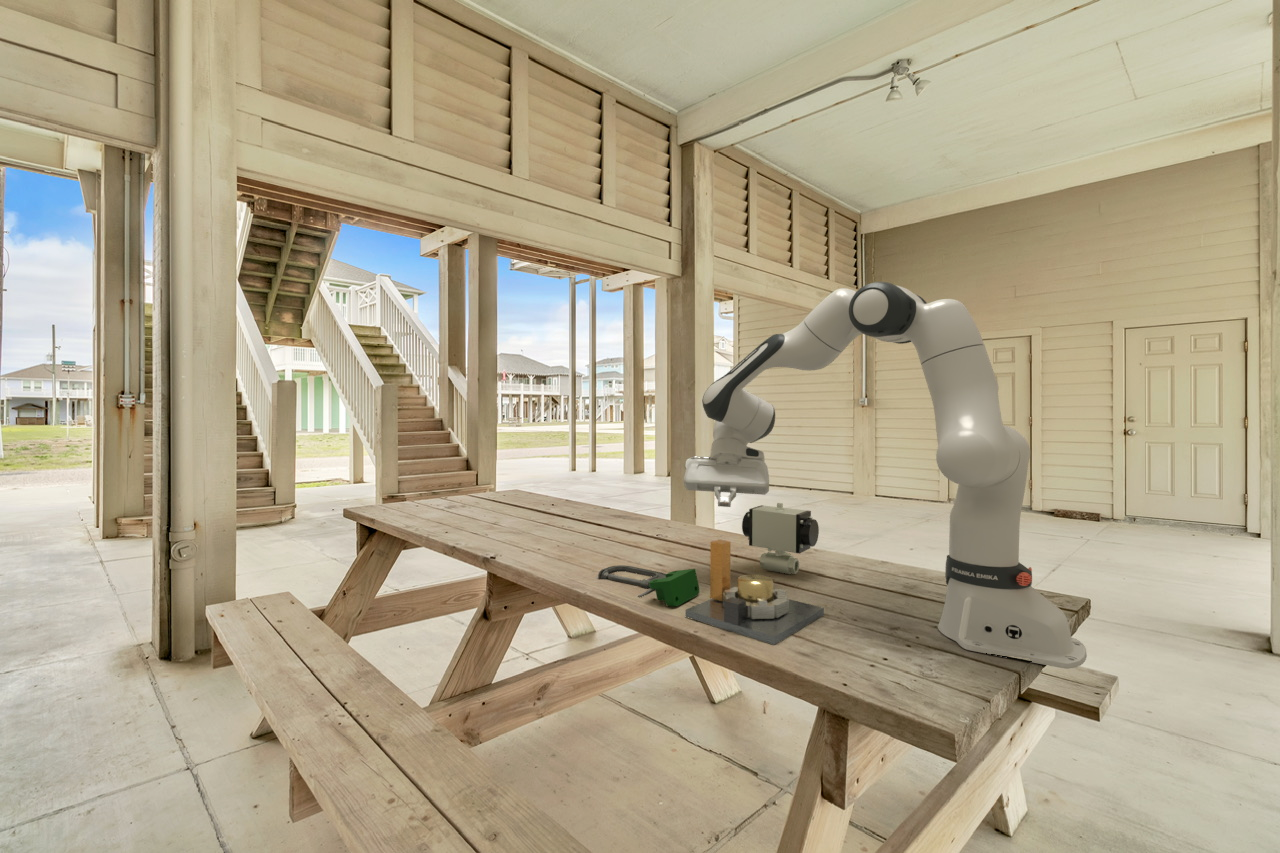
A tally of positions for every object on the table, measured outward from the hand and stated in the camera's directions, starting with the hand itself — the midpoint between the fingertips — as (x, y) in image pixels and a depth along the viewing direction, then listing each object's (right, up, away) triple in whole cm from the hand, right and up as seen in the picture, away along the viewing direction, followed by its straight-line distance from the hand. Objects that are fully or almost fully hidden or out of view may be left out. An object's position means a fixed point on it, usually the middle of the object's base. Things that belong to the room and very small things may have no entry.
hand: (724, 505), depth 133 cm
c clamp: (-22, -20, +7) cm, 30 cm away
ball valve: (+17, -19, +14) cm, 29 cm away
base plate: (+4, -20, -17) cm, 27 cm away
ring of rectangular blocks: (+2, -18, -16) cm, 24 cm away
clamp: (-12, -20, -7) cm, 24 cm away
